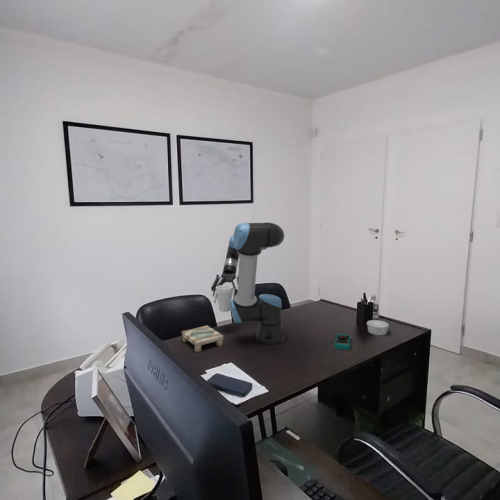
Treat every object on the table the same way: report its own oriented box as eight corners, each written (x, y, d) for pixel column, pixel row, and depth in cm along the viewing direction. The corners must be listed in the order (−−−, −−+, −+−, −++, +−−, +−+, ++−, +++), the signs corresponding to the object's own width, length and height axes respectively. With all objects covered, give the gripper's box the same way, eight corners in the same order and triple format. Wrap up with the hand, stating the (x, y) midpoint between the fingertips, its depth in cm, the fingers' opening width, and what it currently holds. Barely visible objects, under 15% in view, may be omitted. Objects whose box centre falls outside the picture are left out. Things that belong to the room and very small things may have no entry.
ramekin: (386, 337, 178) (387, 328, 177) (364, 334, 183) (365, 324, 182) (389, 331, 187) (390, 321, 186) (368, 327, 193) (369, 318, 192)
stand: (223, 345, 171) (223, 335, 170) (196, 352, 163) (195, 342, 162) (207, 334, 186) (207, 325, 185) (182, 340, 178) (181, 331, 177)
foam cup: (220, 313, 179) (219, 289, 177) (214, 309, 187) (213, 286, 185) (236, 311, 183) (236, 287, 182) (229, 306, 191) (229, 284, 190)
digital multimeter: (350, 339, 177) (350, 334, 177) (350, 351, 163) (350, 345, 163) (336, 338, 179) (336, 332, 179) (334, 349, 165) (334, 343, 165)
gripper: (250, 271, 195) (244, 306, 182) (213, 270, 200) (205, 304, 187) (247, 264, 189) (241, 299, 176) (210, 263, 194) (201, 298, 181)
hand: (223, 302), depth 181 cm, fingers closed on foam cup, 9 cm apart
